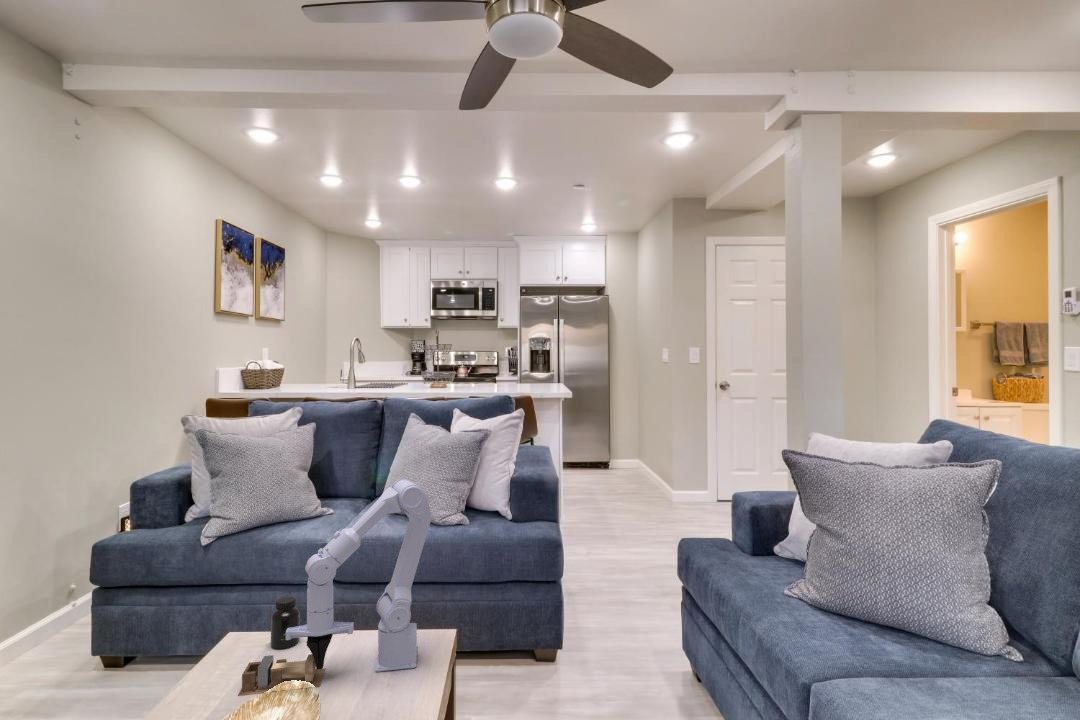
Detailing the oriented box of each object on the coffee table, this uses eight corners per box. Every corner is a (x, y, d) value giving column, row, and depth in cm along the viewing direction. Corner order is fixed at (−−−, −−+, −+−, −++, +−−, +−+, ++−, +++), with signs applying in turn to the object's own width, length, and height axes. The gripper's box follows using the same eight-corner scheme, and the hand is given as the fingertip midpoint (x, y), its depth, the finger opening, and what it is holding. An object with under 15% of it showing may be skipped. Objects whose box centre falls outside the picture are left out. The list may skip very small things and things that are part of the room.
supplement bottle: (288, 654, 142) (288, 606, 142) (264, 651, 143) (264, 604, 144) (305, 641, 149) (305, 595, 149) (282, 639, 150) (282, 593, 150)
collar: (273, 676, 130) (273, 655, 130) (267, 689, 125) (267, 666, 125) (264, 677, 130) (264, 656, 130) (257, 690, 125) (257, 667, 125)
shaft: (315, 672, 131) (315, 653, 131) (312, 681, 128) (312, 661, 128) (274, 677, 130) (274, 657, 130) (270, 685, 126) (270, 665, 126)
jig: (326, 671, 134) (326, 652, 134) (319, 690, 126) (319, 669, 126) (248, 679, 131) (248, 659, 131) (237, 699, 123) (237, 678, 123)
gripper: (355, 598, 135) (355, 654, 135) (290, 603, 133) (290, 661, 132) (351, 610, 129) (351, 670, 128) (283, 616, 126) (283, 677, 125)
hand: (320, 666), depth 130 cm, fingers closed
